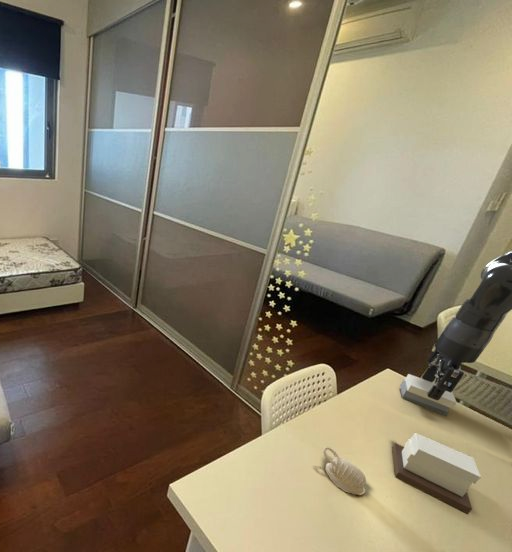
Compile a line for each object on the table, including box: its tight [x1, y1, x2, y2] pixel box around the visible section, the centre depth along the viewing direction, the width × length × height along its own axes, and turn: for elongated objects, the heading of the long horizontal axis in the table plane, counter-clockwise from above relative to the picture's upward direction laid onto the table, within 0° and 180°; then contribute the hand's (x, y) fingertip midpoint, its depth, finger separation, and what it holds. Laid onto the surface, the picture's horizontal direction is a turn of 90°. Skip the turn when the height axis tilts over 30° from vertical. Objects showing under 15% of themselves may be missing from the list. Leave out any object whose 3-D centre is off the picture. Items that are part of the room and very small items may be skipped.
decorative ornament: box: [322, 446, 367, 496], centre depth 63 cm, size 4×8×5 cm, turn 37°
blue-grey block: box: [399, 379, 451, 417], centre depth 86 cm, size 9×6×4 cm, turn 54°
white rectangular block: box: [404, 373, 457, 409], centre depth 84 cm, size 9×6×2 cm, turn 54°
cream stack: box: [391, 432, 482, 514], centre depth 65 cm, size 11×9×8 cm
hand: (429, 388), depth 84 cm, fingers open, 8 cm apart
